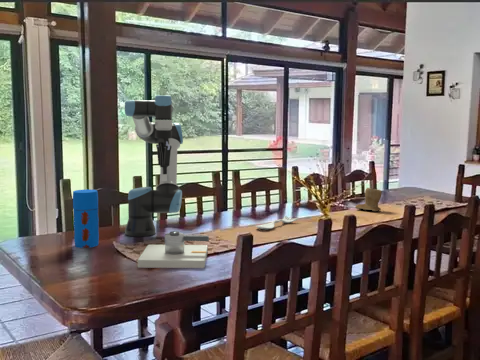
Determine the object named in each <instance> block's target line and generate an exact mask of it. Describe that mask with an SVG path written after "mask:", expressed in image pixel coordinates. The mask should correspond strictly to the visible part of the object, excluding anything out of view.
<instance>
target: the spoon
mask: <svg viewBox="0 0 480 360" xmlns="http://www.w3.org/2000/svg"><path fill="white" fill-rule="evenodd" d="M298 220H299V217H296V218H290V217H289V216H287V215H285V216H283V218H282V219H275V220H273V221H272V222H269V223H264V224H260V225H259V224H258V225H255V227H256V228H257V229H260V230H266V231H267V230H272V229H273V228H275V223H276V224H277V223H280V222H282V223H283V224H290V223H293V222H296V221H298Z"/></svg>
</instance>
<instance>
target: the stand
mask: <svg viewBox="0 0 480 360" xmlns="http://www.w3.org/2000/svg"><path fill="white" fill-rule="evenodd" d="M208 247H209V246H208V245H207V244H184V253H181V254H167V253H165V244H147V246H146V247H145V249H144V250H143V251H142V253H141V255H140V256H139V257H138V259H137V269H140V268H141V269H142V268H145V269H146V268H147V269H148V268H149V269H151V268H152V269H153V268H154V269H156V268H157V269H158V268H159V269H170V268H171V269H173V268H174V269H205V266H206V262H207V261H206V260H207V258H208V257H207V256H208V249H209V248H208Z"/></svg>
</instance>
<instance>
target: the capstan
mask: <svg viewBox="0 0 480 360" xmlns="http://www.w3.org/2000/svg"><path fill="white" fill-rule="evenodd" d="M185 242H209V235H201V234H200V235H197V234H194V235H192V234H191V235H190V234H189V235H188V234H184V233H183V232H180V231H177V230H174V231H173V230H172V231H170V232H166V233H165V234H164V245H165V253H167V254H181V253H184V245H185Z"/></svg>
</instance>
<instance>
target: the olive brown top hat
mask: <svg viewBox="0 0 480 360" xmlns="http://www.w3.org/2000/svg"><path fill="white" fill-rule="evenodd" d="M382 194H383V193H382V190H381V189H378V188H371V187H366V188H365V191H364V197H365V202H364V203H363V204H362V203H359V204H357V205H355V206H354V208H355V209H357V210H361V209H363V210H362V211H366V210H372V211H371V212H379V211H378V210H380V211H381V210H382V209H381V208H380V207H379V202H380V201H381V198H382Z"/></svg>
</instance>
